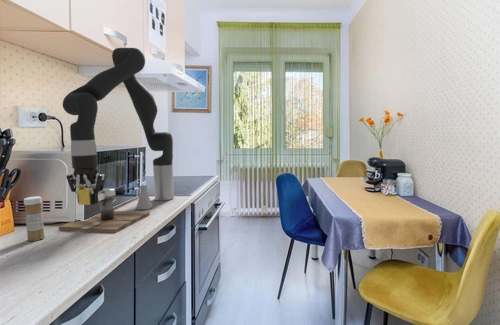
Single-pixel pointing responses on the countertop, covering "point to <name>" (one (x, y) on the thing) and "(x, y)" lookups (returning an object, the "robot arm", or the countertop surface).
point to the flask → (144, 199)
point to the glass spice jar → (107, 209)
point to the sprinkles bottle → (34, 218)
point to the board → (106, 222)
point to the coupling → (106, 193)
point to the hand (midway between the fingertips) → (88, 204)
